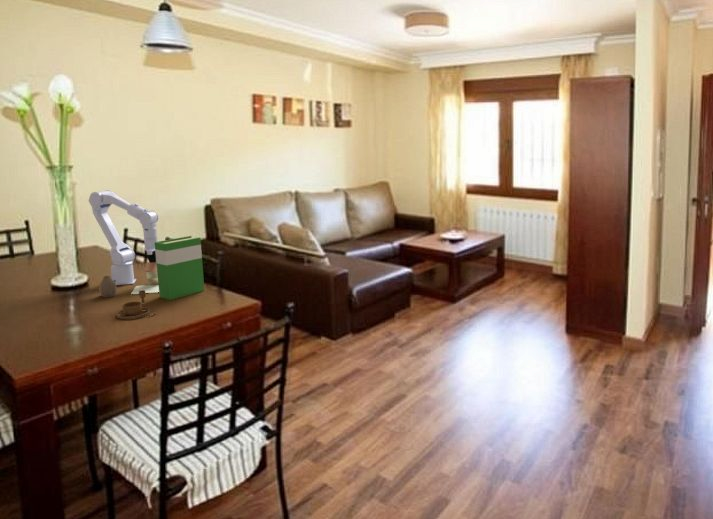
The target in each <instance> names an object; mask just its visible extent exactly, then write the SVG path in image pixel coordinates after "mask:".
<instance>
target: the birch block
mask: <svg viewBox="0 0 713 519" xmlns="http://www.w3.org/2000/svg"><path fill="white" fill-rule="evenodd" d="M144 272H145V275H146V279H147V283H148V285H158V274H157V264H156V262H153V263H149V262H146V263H145V270H144Z"/></svg>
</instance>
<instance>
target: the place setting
mask: <svg viewBox="0 0 713 519" xmlns="http://www.w3.org/2000/svg"><path fill="white" fill-rule="evenodd" d="M138 295H139V298H140V299H141V302H140V301H129V302H128V301H127V302H126V303H123V304H122V305H121V307H122V309H120V310H119V311H117V312H116V313H115V315H116V318H118V319H119V318H120V319H119V320H124V319H130V320H135V319H134V318H137V319H141V318H144V317H146V316H148V315H151V314H155V315H157V314H156V312H153V313H150V309H149V308H148V307H144V306H143V304H142V303H145V300H144V299H145V298H146V294H145V291H144V290H142V291H139V294H138ZM142 310H146V311H147V312H144V313H142V314H140V313H141V312H143V311H142ZM121 313H123V314H125V315H127V316H122V314H121ZM119 314H121V315H119ZM147 314H148V315H147ZM118 315H119V316H118ZM134 315H136V316H134ZM145 315H146V316H145ZM143 316H144V317H143ZM140 317H141V318H140Z"/></svg>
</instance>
